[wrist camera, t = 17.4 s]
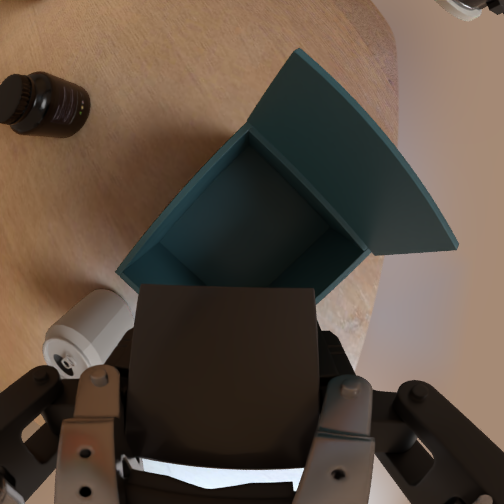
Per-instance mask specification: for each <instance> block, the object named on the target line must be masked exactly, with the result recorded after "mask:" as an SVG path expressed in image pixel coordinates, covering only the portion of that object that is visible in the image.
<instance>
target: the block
mask: <svg viewBox="0 0 504 504" xmlns="http://www.w3.org/2000/svg"><path fill="white" fill-rule="evenodd" d="M319 418H320V378H319V352H318V333H317V317H316V302H315V290H314V288H272V287H216V286H185V285H160V284H141V285H140V290H139V296H138V302H137V308H136V315H135V322H134V329H133V337H132V345H131V354H130V364H129V374H128V387H127V402H126V423H125V433H126V438H127V441H128V443H129V446H130V448H131V450H132V452H133V454H134V456H135V457H139V458H144V459H149V460H154V461H159V462H165V463H172V464H179V465H186V466H195V467H205V468H217V469H237V470H276V469H295V468H305V465H306V462H307V459H308V455H309V452H310V449H311V446H312V442H313V439H314V435H315V432H316V429H317V425H318V421H319Z"/></svg>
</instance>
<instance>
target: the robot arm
mask: <svg viewBox="0 0 504 504" xmlns="http://www.w3.org/2000/svg"><path fill="white" fill-rule="evenodd" d="M452 1H453V2H455V3H456V4H457V5H459V6H460V7H462V8H464V9H466V10H469V11H473V10H475V9H477V10H481V9H483V8H485V7H486V6H488V7H489V10H490V11H492V12H494V13H496V14H497V15H498V14H501V13H503V14H504V0H452ZM133 329H134V327H132V328H131V329H129V330H128V331H127V332H126V333H125V334H124V336H123V337H122V340H120V341H119V343H118V344H117V346H116V347H115V348H114V350H113V351H112V353H111V354H110V356H109V357H108V359H107V360H106V361H105V363H104V364H101V365H95V366H91V367H89V368H87V369H86V370H85V371H83V373H82V374H81V375H80V378H79V379H61V377H60V375H59V372H58V370H57V369H56V368H55V367H52V366H49V365H42V366H38V367H35V368H33V369H31V370H30V371H29V372H27V373H26V374H25V375H23V376H22V377H21V378H19V379H18V380H17V381H15V382H14V383H13V384H12V385H10V386H9V387H8V388H6V389H5V390H4V391H3V392H1V393H0V504H25V502H26V501H27V500H28V499H29V497H30V496H31V495H32V494H33V493H34V492H35V491H36V490H37V489H38V487H39V486H40V485H41V484H42V483H43V482H44V481H45V480H46V479H47V477H48V476H49V475H50V474H51V473H52V472H53V471H54V470H55V469H56V476H55V497H54V504H368V500H369V494H370V487H371V479H372V471H373V462H374V453H375V455H376V456H377V458H378V459H379V460H380V462H381V463H382V464H383V466H384V467H385V469H386V470H387V471H388V473H389V474H390V476H391V477H392V478H393V480H394V481H395V482H396V484H397V485H398V486H399V488H400V489H401V490H402V492H403V493H404V495H405V496H406V497H407V499H408V500H409V501H410V503H411V504H504V452H503V451H502V450H501V449H500V448H499V447H498V446H496V445H495V444H494V443H493V442H492V441H491V440H490V439H489V438H488V437H487V436H486V435H485V434H484V433H483V432H482V431H481V430H479V429H478V428H477V427H476V426H475V425H474V424H473V423H472V422H471V421H470V420H469V419H468V418H466V417H465V416H464V415H463V414H462V413H461V412H460V411H459V410H458V409H457V408H456V407H454V406H453V405H452V404H451V403H450V402H449V401H448V400H447V399H446V398H445V397H444V396H443V395H441V394H440V393H439V392H438V391H437V390H436V389H435V388H434V387H433V386H431V385H430V384H428V383H426V382H423V381H418V380H412V381H407V382H405V383H403V384H402V385H401V386H400V387H399V389H398V391H397V393H396V392H383V391H376V390H372V386H371V384H370V383H369V382H368V381H367V380H366V379H364V378H362V377H360V376H356V374H355V372H354V370H353V368H352V366H351V364H350V362H349V360H348V357H347V355H346V354H345V351H344V349H343V347H342V345H341V343H340V341H339V339H338V337H337V336H336V335H334V334H333V333H332V332H330V331H321V328H320V326H319V324H318V321H317V333H318V352H319V378H320V418H319V421H318V425H317V429H316V432H315V435H314V439H313V442H312V446H311V449H310V452H309V455H308V459H307V462H306V465H305V468H304V471H303V474H302V477H301V480H300V483H299V486H298V488H297V491H293V482H275V483H248V484H243V485H237V486H231V487H224V488H216V489H205V488H202V487H198V486H195V485H192V484H189V483H186V482H183V481H181V480H178V479H175V478H172V477H170V476H166V475H160V474H155V473H149V472H145V471H144V467H143V461H142V458H139V457H135V456H134V454H133V452H132V450H131V448H130V446H129V443H128V441H127V438H126V433H125V423H126V402H127V387H128V374H129V364H130V354H131V345H132V337H133ZM39 414H41V415H42V416H43V418H44V420H45V422H46V423H45V424H43V425H42V426H41V427H40V429H38V430H37V431H36V432H35V433H34V434H33V435H32V436H31V437H30V438H29V439H28V440H27V441H26V442H25V443H23V441H22V438H21V434H22V431H23V429H24V428H25V427H26V426H27V425H28V424H30V423H31V422H32V421H33V420H34V419H35V418H36V417H37V416H38V415H39ZM417 437H418V438H419V439H420V440H421V442H422V443H423V444H424V445H425V446H426V447H427V448H428V449H429V450H430V452H431V453H432V455H433V457H434V459H433V458H432V457H431V456H430V454H429V453H428V452H427V451H426V450H425V449H424V448H423V446H422V445H421V444H420V443H419V442H418V441H417V440H416V439H417Z"/></svg>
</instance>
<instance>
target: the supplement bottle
mask: <svg viewBox="0 0 504 504" xmlns="http://www.w3.org/2000/svg"><path fill="white" fill-rule="evenodd" d="M89 112H90V98H89V95H88V93H87V91H86V90H85V89H84V88H82V87H80V86H78V85H76V84H74V83H71V82H69V81H66V80H64V79H61V78H59V77H56V76H54V75H51V74H48V73H46V72H41V71H39V72H34V73H31V74H29V75H27V76H26V75H20V74H13V75H10V76H8V77H7V78H6V79H5V80H4V81H3V82H2V84H1V85H0V123H2V124H7V125H10V127H11V129H12V130H13V131H14V132H15V133H17V134H20V135H29V136H43V137H55V138H67V137H70V136H72V135H74V134H75V133H77V132H78V131H79V130H80V129H81V128H82V126H83V125H84V124H85V122H86V120H87V118H88V115H89Z"/></svg>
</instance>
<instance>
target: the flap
mask: <svg viewBox="0 0 504 504" xmlns="http://www.w3.org/2000/svg"><path fill="white" fill-rule="evenodd" d="M247 122H248V123H250V124H251V125H252V126H253V127H254V128H255V129H256V130H257V131H258V132H259V133H260V134H261V135H262V136H264V137H265V138H266V139H267V140H268V141H269V142H270V143H271V144H272V145H273V146H274V147H275V148H276V149H277V150H278V151H279V152H280V153H281V154H282V155H283V156H284V157H285V158H286V159H287V160H288V161H289V162H290V163H291V164H292V165H293V166H294V167H295V168H296V169H297V170H298V171H299V172H300V173H301V174H302V175H303V176H304V177H305V178H306V179H307V180H308V181H309V182H310V183H311V184H312V185H313V186H314V187H315V188H316V189H317V191H318V192H319V193H320V194H321V195H322V196H323V197H324V198H325V199H326V200H327V201H328V202H329V203H330V205H331V206H332V207H333V208H334V209H335V210H336V211H337V212H338V213H339V215H340V216H341V217H342V218H343V219H344V220H345V221H346V222H347V224H348V225H349V226H350V227H351V228H352V229H353V230H354V232H355V233H356V234H357V235H358V236H359V238H360V239H361V240H362V241H363V242H364V243H365V245H366V246H367V247H368V248H369V249H370V251H371V252H372V253H373V254H374V255H375V256H378V255H393V254H408V253H423V252H437V251H451V250H457V248H458V245H459V243H458V241H457V239H456V237H455V235H454V234H453V232H452V230H451V228H450V227H449V225H448V223H447V221H446V220H445V218H444V217H443V215H442V213H441V212H440V210H439V208H438V207H437V205H436V203H435V202H434V200H433V199H432V197H431V196H430V194H429V193H428V191H427V189H426V188H425V187H424V185H423V184H422V182H421V181H420V179H419V178H418V177H417V175H416V173H415V172H414V171H413V169H412V168H411V167H410V165H409V164H408V163H407V161H406V160H405V158H404V157H403V156H402V154H401V153H400V152H399V151H398V149H397V148H396V147H395V145H394V144H393V143H392V142H391V140H390V139H389V138H388V137H387V135H386V134H385V133H384V132H383V131H382V129H381V128H380V127H379V126H378V125H377V124H376V122H375V121H374V120H373V119H372V118H371V117H370V116H369V114H368V113H367V112H366V111H365V110H364V109H363V108H362V107H361V106H360V105H359V104H358V102H357V101H356V100H355V99H354V98H353V97H352V96H351V95H350V94H349V93H348V92H347V91H346V90H345V89H344V88H343V87H342V86H341V85H340V84H339V83H338V82H337V81H336V80H335V79H334V78H333V77H332V76H331V75H330V74H329V73H328V72H326V71H325V70H324V69H323V68H322V67H321V66H320V65H319V64H318V63H317V62H315V61H314V60H313V59H312V58H311V57H310V56H309V55H307V54H306V53H305V52H304V51H303V50H302V49H300V48H298V49H296V50H295V51H293V53H292V54H291V56H290V57H289V58H288V60H287V61H286V63H285V64H284V65H283V67H282V68H281V70H280V71H279V73H278V74H277V75H276V77H275V78H274V80H273V81H272V83H271V84H270V86H269V87H268V89H267V90H266V92H265V93H264V95H263V96H262V98H261V99H260V101H259V102H258V104H257V105H256V107H255V108H254V110H253V112H252V113H251V115H250V116H249V118H248V119H247Z"/></svg>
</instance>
